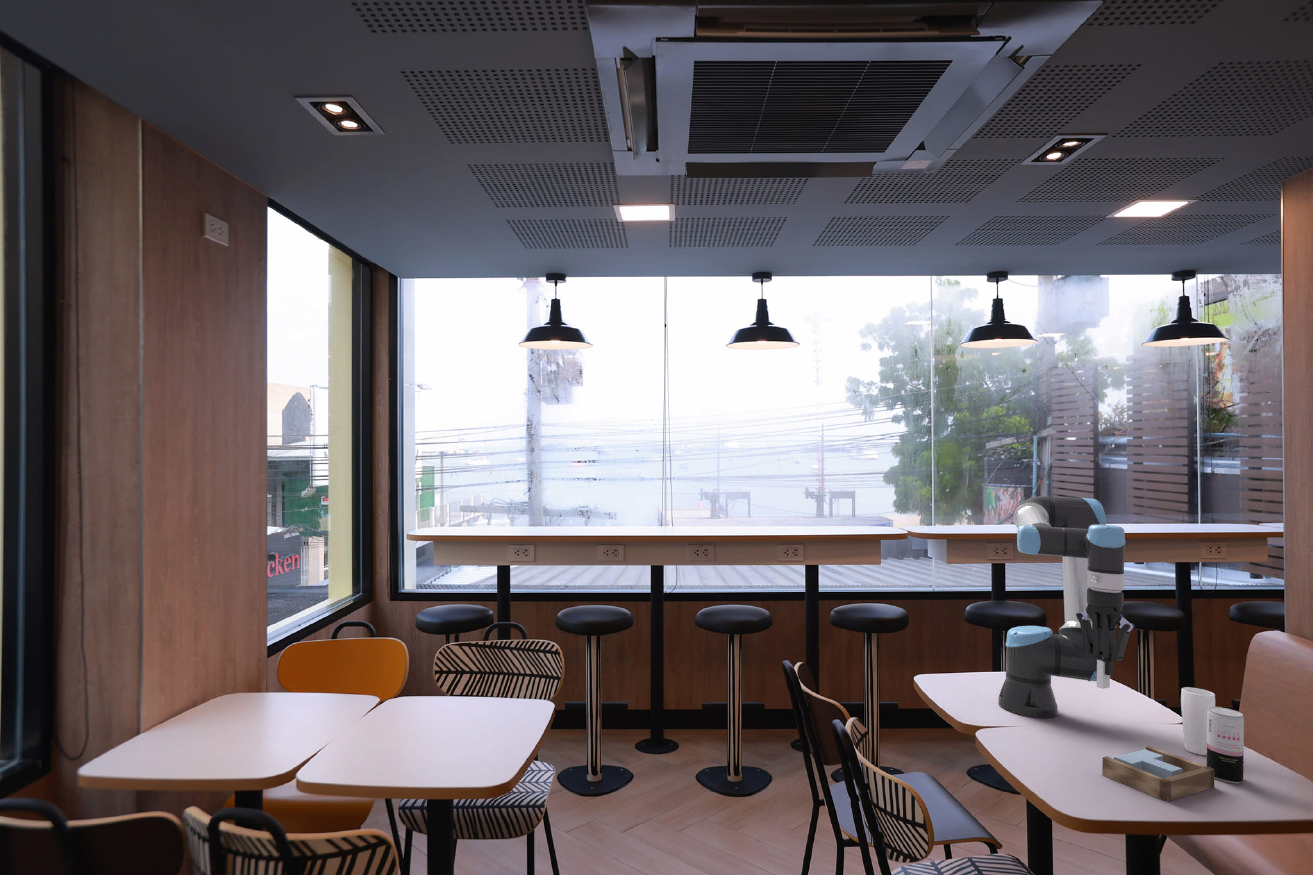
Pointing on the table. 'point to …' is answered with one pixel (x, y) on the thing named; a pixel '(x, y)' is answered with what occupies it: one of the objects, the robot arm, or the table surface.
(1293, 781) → the table surface
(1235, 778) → the beverage can
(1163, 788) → the walnut corral
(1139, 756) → the tee block
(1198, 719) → the white paper cup
